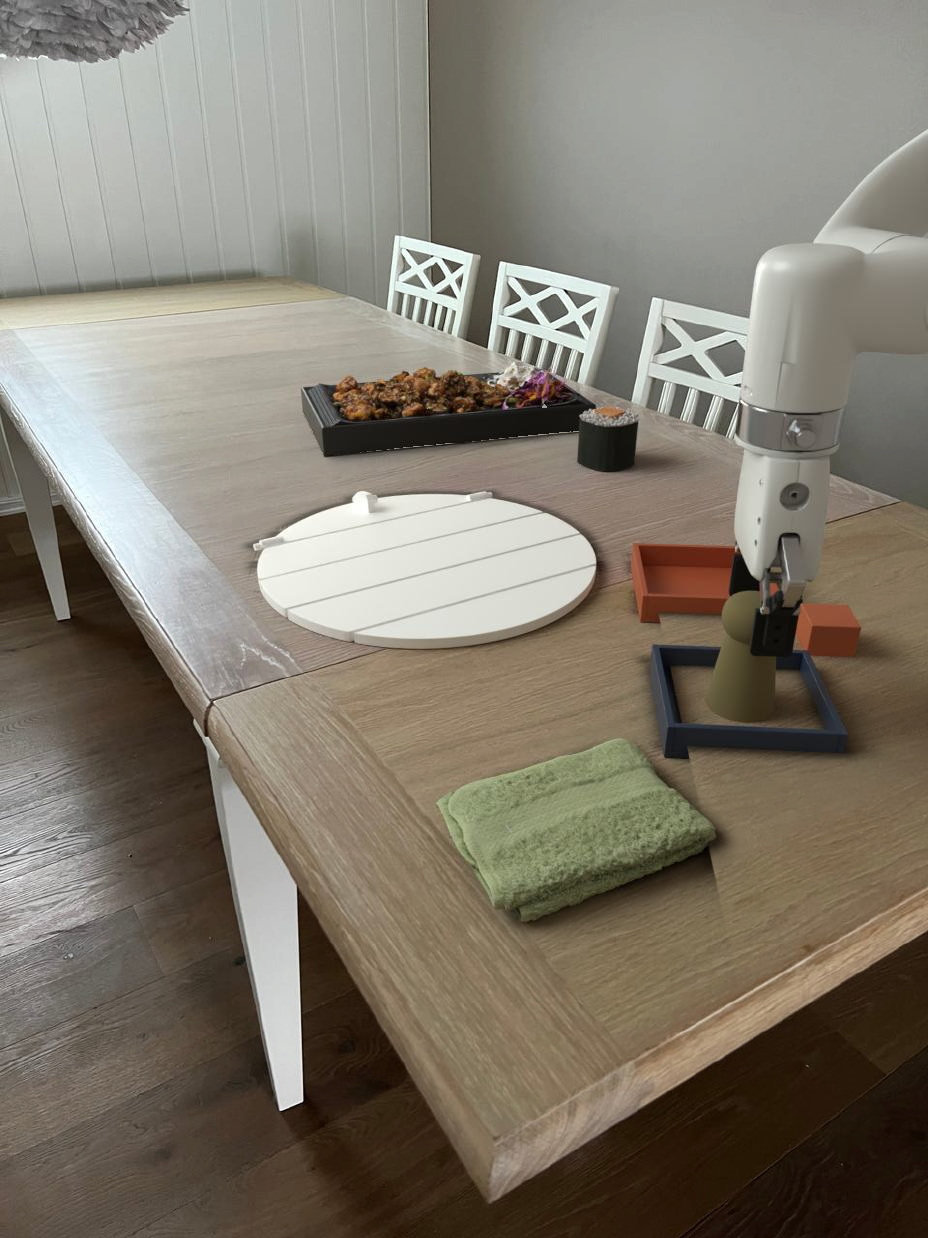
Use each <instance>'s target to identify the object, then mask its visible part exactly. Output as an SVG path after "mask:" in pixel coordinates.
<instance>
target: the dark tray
mask: <svg viewBox="0 0 928 1238" xmlns="http://www.w3.org/2000/svg"><path fill="white" fill-rule="evenodd" d="M720 650H721V646H709V645H684V644H683V645H682V644H680V645H679V644H657V643H655V644H654V643H653V644H651V651H650V661H649V669H648V674H649V679H650V685H651V691H652V697H653V702H654V708H655V713H656V719H657V725H658V731H659V736H660V742H661V749H662V754H663V758H672V759H673V758H675V759H690V752H689V749H688V747H699V748H720V749H742V750H761V751H763V750H765V751H782V752H783V751H784V752H786V751H787V752H806V753H827V754H828V753H830V754H844V753H845V750H846V745H847V741H848V736H849V734H848V732H847V730H846V727H845V726H844V725H845V724H843V722H842V719H841V716H840V715H839V712H838V711H837V708H836V706H835V705H834V702H833V700H832V697H831V696H830V694H829V692H828V689H827V688H826V685H825V683H824V681H823V679H822V677H821V675H820V673H819V670H818V669H817V666H816V664H815V662H814V660H813V658H812V655H810V654H809V652H808V650H803V649H802V650H801V649H793V651H792V654H791V655H790V656H788V657H776V670H789V671H792V670H793V671H799V673H800V674H801V677H802V679H803V681H804V683H805V687H806V688H807V690H808V693H809V695H810V698H811V699H812V702H813V705H814V706H815V708H816V711H817V714H818V715H819V717H820V720H821V722H822V724H823V727H824V728H825V729H819V728H818V729H817V728H794V727H775V726H774V727H773V726H750V725H726V724H705V723H704V724H703V723H683V721H682V716H681V712H680V707H679V703H678V698H677V694H676V693H677V692H676V689H675V684H674V679H673V675H672V669H671V666H685V667H686V666H687V667H689V666H690V667H709V668H710V667H713V668H715V666H716V662H717V659H718V656H719V653H720Z"/></svg>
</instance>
